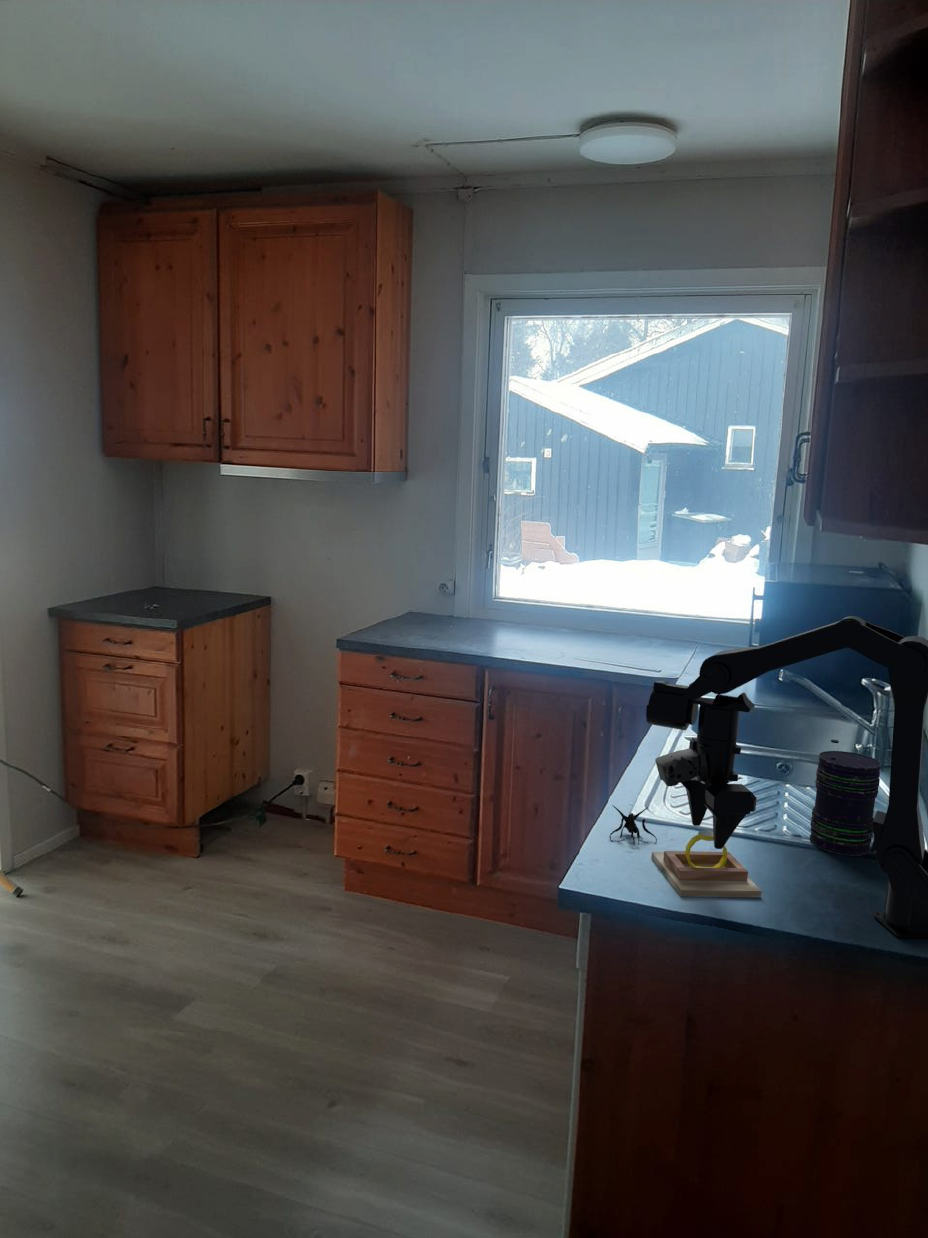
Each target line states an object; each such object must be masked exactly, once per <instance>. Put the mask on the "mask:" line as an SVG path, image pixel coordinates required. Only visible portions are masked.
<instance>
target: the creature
mask: <svg viewBox="0 0 928 1238" xmlns="http://www.w3.org/2000/svg"><path fill="white" fill-rule="evenodd" d="M611 806H612V807H613V808H614V809H615V810H616V811H617V812H618V813H619V815H620V816H621V821H620V825H619V827H618V828H616V829H614V830H613V831H611V832H610V834H609V840H610V842H612V843H614V841H613V839H611V838H612V837H611V836H612V835H613V834H615V833H616V832H618V831H620V830H621V831H620V835H619V837H620V839H621V840H618V841H617V843H618V842H621V841H625V839H624V838H622V836H623V830H624V829H627V832H628V833H629V834H630V837H631V838H632V840H633V845H634V846H635V843H636V842H635V841H636V840H635V837H634V834H636V838H637V839H638V841H637V842H638V846H640V842H644V843H647V844H649V842H648V841H645V840H643V839H644V837H643V836H640V830H639V828H638V825H637V823H636V822H635V821H636V819H637V818H638V817H640V815H641V814H642V813H644V812H645V811H646V810H647V809H648V808H649V806H648V807H646V808H644V809H642V810H641V811H640V812H638V813H636V814H635V815H634V813H629V814H628V816H627V815H625V814H624V813H623V812H622V811H620V810H619V808H617V807H616V806H615V805H613V804H612V805H611ZM624 821H625V823H624ZM645 823H646V819H645V818H643V819H642V822H641V824H642V828H643V831H644V832H646V833H647V834H649V835H651V836H652V837H654V838H655V843H654V845H655V844H657V843H658V838H657V837H656V836H655V835H654V834H653V833H652V832H651V831H649V830H648V829H647V828H646V825H645ZM641 838H642V839H641Z"/></svg>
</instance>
